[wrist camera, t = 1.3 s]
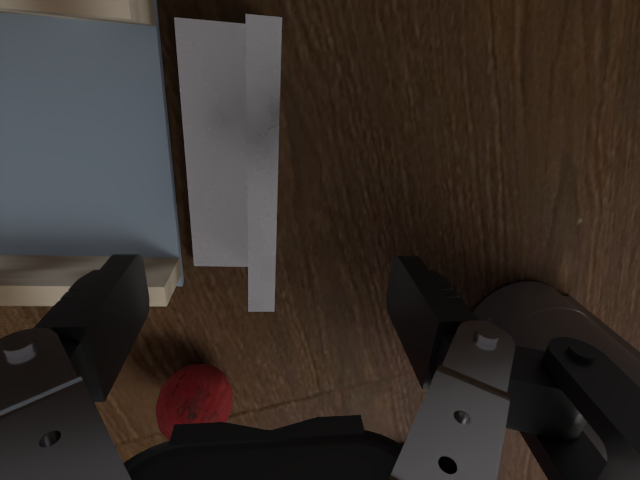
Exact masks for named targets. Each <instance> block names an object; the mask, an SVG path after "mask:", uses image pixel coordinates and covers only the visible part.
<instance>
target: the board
mask: <svg viewBox="0 0 640 480" xmlns="http://www.w3.org/2000/svg"><path fill="white" fill-rule="evenodd" d="M154 10H155V20H156V26H149V25H137V24H126V23H114V22H103V21H91V20H80V19H69V18H57V17H46V16H34V15H23V14H11V13H0V255H50V256H107V257H111V256H112V255H113V254H140V255H141V256H142V257H164V258H179V259H180V269H181V276H180V279H179V281H178V283H177V285H176V286H183V283H184V277H183V267H182V256H181V246H180V236H179V226H178V215H177V205H176V195H175V185H174V174H173V164H172V154H171V144H170V133H169V123H168V113H167V103H166V92H165V82H164V72H163V61H162V51H161V41H160V31H159V20H158V10H157V0H154Z"/></svg>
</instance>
